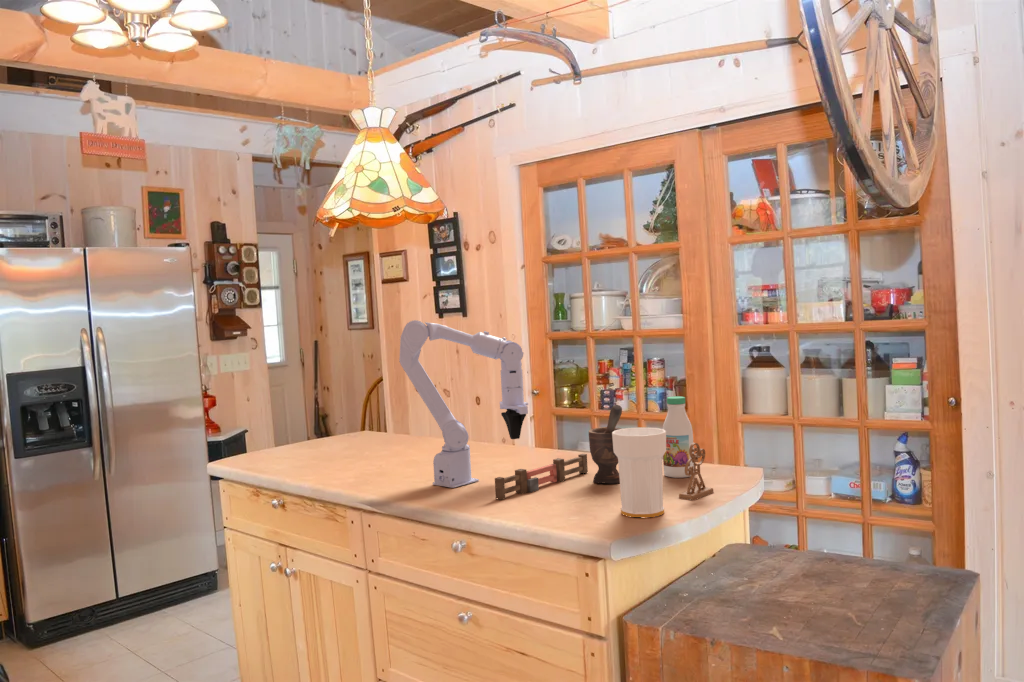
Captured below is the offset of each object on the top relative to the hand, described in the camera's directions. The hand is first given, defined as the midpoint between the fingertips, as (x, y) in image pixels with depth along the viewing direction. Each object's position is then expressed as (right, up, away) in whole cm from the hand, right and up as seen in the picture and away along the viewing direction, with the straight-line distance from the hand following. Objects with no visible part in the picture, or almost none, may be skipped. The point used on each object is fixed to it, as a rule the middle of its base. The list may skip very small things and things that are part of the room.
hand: (515, 438), depth 210 cm
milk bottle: (+42, -9, -6) cm, 43 cm away
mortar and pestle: (+24, -10, -11) cm, 28 cm away
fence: (+8, -11, -10) cm, 17 cm away
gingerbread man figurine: (+41, -10, -28) cm, 51 cm away
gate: (+6, -10, -11) cm, 16 cm away
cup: (+27, -11, -40) cm, 50 cm away
